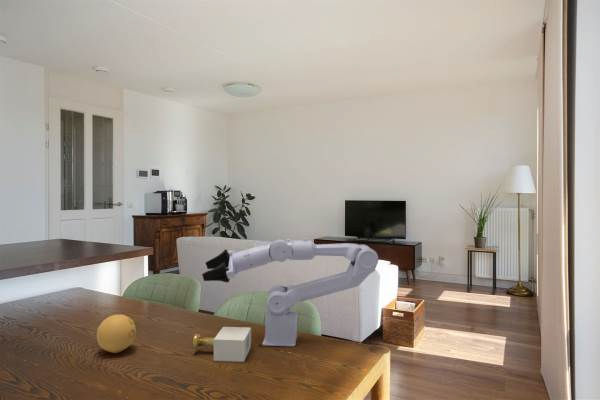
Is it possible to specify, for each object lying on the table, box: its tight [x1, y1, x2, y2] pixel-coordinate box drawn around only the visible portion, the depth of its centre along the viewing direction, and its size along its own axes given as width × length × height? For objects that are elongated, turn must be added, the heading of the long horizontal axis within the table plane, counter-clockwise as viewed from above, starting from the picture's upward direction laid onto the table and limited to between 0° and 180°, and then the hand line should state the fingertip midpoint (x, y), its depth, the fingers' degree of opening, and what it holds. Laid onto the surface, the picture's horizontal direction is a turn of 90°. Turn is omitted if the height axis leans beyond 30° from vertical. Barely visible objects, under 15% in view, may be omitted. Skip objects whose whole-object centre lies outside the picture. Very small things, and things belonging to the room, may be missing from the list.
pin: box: [191, 333, 215, 350], centre depth 111 cm, size 13×4×4 cm, turn 87°
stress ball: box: [96, 313, 137, 354], centre depth 111 cm, size 10×10×10 cm
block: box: [213, 326, 252, 363], centre depth 110 cm, size 8×10×6 cm
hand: (205, 271), depth 119 cm, fingers open, 7 cm apart
